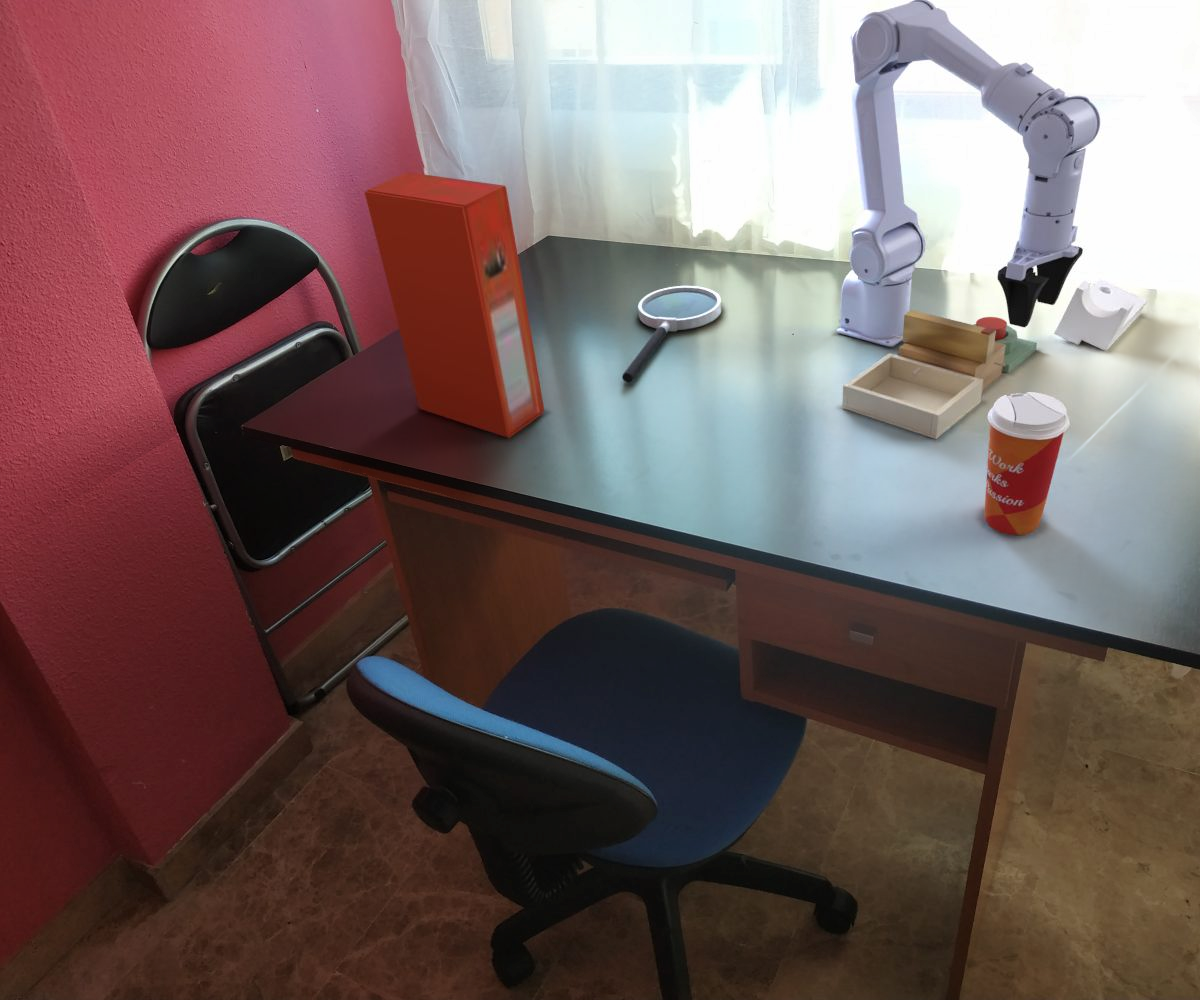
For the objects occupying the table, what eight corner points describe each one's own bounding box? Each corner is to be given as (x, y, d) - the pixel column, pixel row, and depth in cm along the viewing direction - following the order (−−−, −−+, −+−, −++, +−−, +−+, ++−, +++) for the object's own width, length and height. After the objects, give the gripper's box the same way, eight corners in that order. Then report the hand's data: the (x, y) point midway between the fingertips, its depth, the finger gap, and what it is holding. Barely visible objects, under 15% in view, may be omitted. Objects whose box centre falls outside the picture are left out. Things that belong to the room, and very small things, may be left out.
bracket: (1102, 356, 135) (1127, 310, 130) (1054, 333, 138) (1077, 287, 133) (1136, 320, 143) (1161, 275, 137) (1089, 299, 146) (1112, 254, 140)
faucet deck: (857, 388, 134) (858, 357, 131) (920, 343, 142) (923, 313, 140) (968, 423, 124) (972, 390, 121) (1029, 372, 132) (1034, 340, 130)
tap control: (940, 354, 139) (942, 335, 137) (968, 333, 143) (970, 314, 141) (1008, 373, 133) (1011, 353, 131) (1035, 350, 137) (1039, 330, 135)
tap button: (969, 337, 137) (970, 324, 135) (983, 327, 139) (985, 314, 138) (996, 344, 134) (998, 331, 133) (1010, 333, 136) (1012, 320, 135)
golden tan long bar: (902, 341, 134) (904, 312, 131) (909, 336, 135) (911, 307, 132) (985, 364, 126) (989, 333, 124) (992, 358, 127) (996, 328, 125)
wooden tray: (842, 408, 130) (842, 385, 128) (887, 375, 136) (889, 352, 134) (936, 439, 121) (938, 415, 119) (980, 402, 127) (983, 379, 125)
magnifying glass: (585, 380, 144) (584, 367, 143) (654, 294, 167) (653, 283, 166) (672, 388, 139) (671, 375, 138) (730, 298, 162) (730, 287, 161)
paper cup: (963, 504, 110) (976, 394, 102) (1030, 495, 110) (1049, 384, 102) (992, 546, 104) (1009, 433, 96) (1064, 536, 104) (1087, 422, 96)
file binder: (506, 439, 133) (461, 205, 114) (418, 410, 142) (364, 190, 124) (544, 412, 138) (507, 184, 119) (457, 386, 147) (410, 171, 129)
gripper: (1055, 233, 111) (1037, 342, 119) (1109, 195, 119) (1089, 299, 126) (995, 223, 115) (981, 329, 123) (1051, 186, 123) (1035, 288, 131)
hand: (1032, 313), depth 125 cm, fingers open, 7 cm apart
